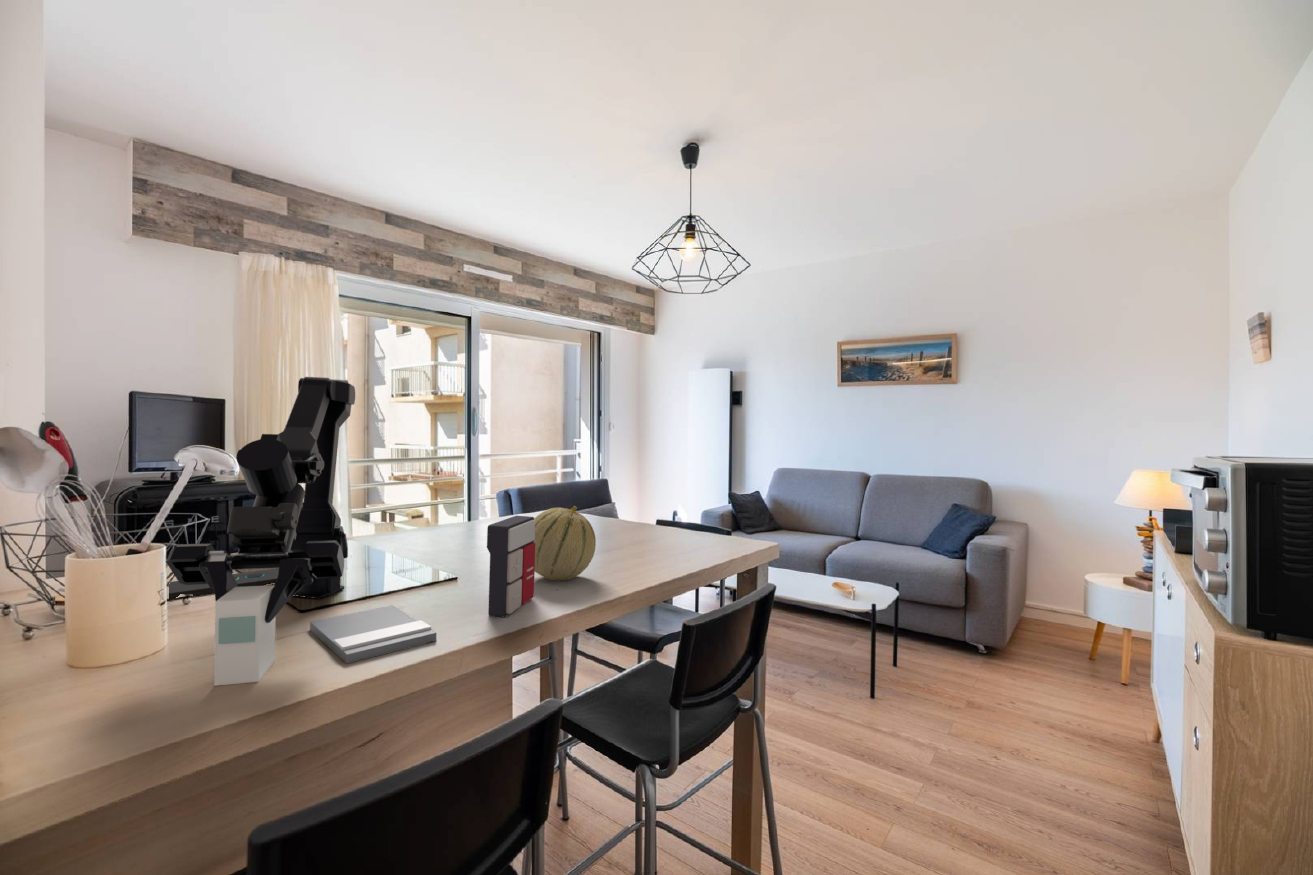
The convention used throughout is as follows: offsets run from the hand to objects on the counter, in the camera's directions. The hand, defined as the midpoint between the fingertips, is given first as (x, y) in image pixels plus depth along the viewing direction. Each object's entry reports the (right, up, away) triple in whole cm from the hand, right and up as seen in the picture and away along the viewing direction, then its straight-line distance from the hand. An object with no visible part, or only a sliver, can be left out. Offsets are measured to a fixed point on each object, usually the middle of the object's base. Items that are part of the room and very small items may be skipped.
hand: (243, 622), depth 70 cm
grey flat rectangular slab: (+8, -7, +15) cm, 18 cm away
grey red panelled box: (+25, -7, +29) cm, 39 cm away
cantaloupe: (+30, -7, +48) cm, 57 cm away
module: (-1, -7, +1) cm, 7 cm away
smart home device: (-28, -5, +36) cm, 46 cm away
